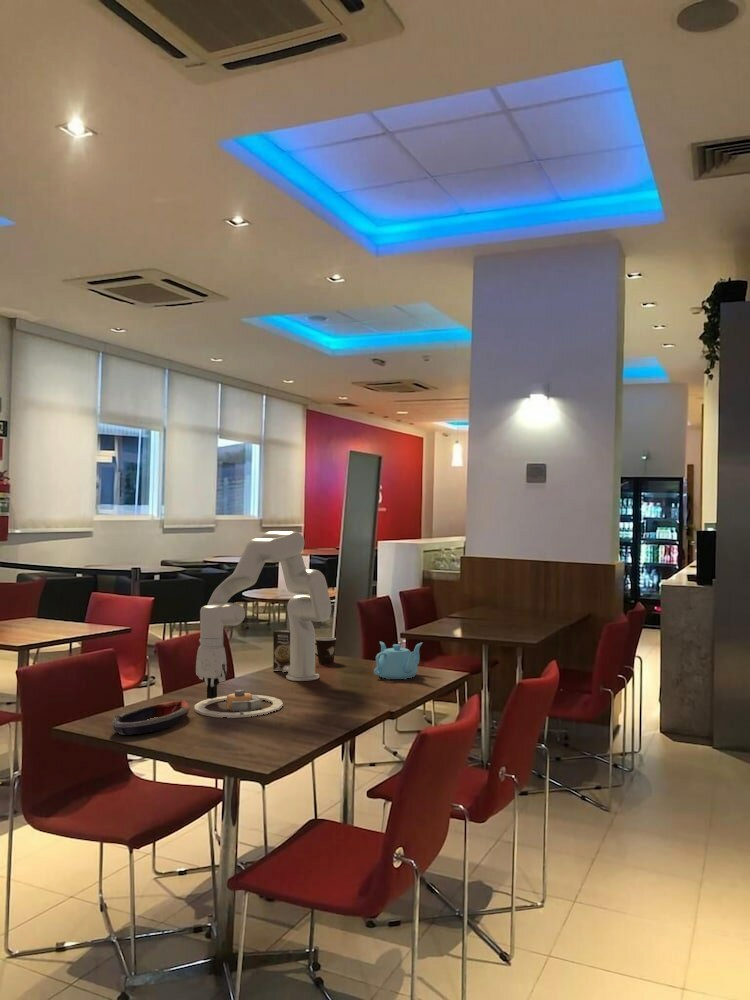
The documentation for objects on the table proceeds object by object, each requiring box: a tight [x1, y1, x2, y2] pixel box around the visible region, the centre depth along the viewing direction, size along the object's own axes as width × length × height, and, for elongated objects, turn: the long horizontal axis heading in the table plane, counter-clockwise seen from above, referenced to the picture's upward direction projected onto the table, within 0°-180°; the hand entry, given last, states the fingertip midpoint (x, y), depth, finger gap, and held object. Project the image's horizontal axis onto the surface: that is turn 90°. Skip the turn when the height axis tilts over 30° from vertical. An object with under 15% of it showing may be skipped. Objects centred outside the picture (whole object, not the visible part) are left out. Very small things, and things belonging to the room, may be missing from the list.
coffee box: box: [272, 629, 290, 672], centre depth 326 cm, size 9×6×16 cm
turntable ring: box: [194, 694, 284, 719], centre depth 265 cm, size 28×28×1 cm
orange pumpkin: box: [226, 689, 253, 711], centre depth 265 cm, size 8×8×6 cm
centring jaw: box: [231, 694, 262, 713], centre depth 263 cm, size 6×12×3 cm, turn 148°
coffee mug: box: [315, 636, 337, 665], centre depth 343 cm, size 12×9×10 cm
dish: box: [111, 699, 190, 736], centre depth 244 cm, size 16×31×5 cm, turn 153°
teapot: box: [373, 641, 423, 680], centre depth 314 cm, size 17×19×12 cm
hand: (212, 697), depth 272 cm, fingers closed
